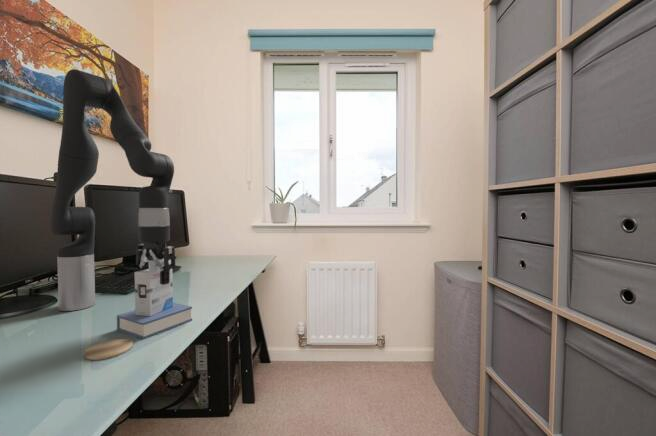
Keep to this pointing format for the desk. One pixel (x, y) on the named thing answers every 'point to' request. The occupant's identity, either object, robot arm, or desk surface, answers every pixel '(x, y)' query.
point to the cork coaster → (108, 349)
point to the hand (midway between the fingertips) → (155, 282)
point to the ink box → (152, 291)
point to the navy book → (153, 321)
